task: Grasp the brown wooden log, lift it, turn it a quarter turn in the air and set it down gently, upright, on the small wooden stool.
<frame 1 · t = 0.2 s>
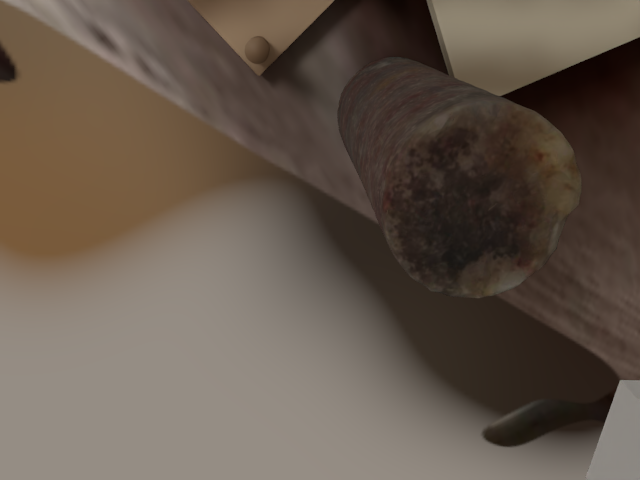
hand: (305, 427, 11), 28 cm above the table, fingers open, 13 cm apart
brown wooden log: (386, 110, 37), on the table
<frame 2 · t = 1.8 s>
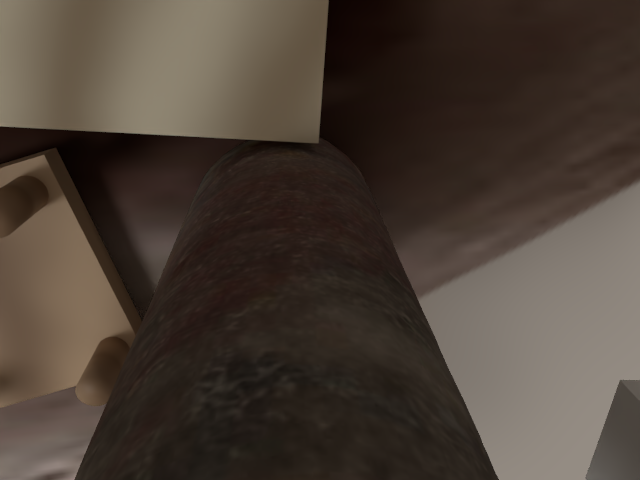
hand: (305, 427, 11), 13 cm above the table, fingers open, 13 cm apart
upturned stool decor: (1, 289, 23), on the table
brown wooden log: (281, 212, 23), on the table
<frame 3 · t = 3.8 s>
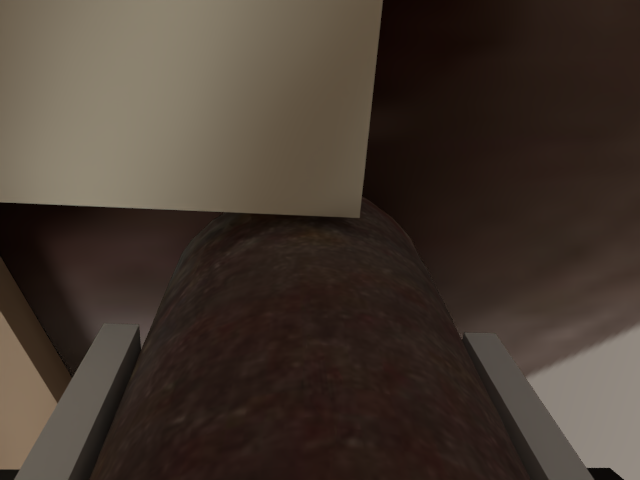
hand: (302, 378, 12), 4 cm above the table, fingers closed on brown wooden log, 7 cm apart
brown wooden log: (295, 289, 16), on the table, touching gripper
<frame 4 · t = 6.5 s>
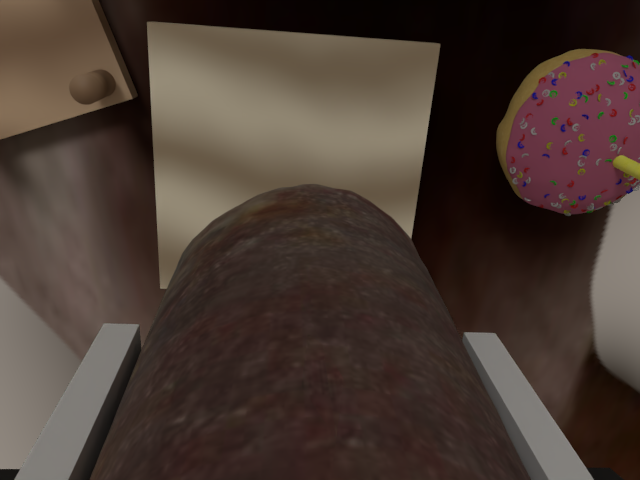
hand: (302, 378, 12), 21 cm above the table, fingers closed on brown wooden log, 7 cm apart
small wooden stool: (288, 156, 32), on the table
upturned stool decor: (10, 29, 28), on the table
cupcake: (539, 120, 32), on the table
brown wooden log: (296, 289, 16), point 17 cm above the table, touching gripper
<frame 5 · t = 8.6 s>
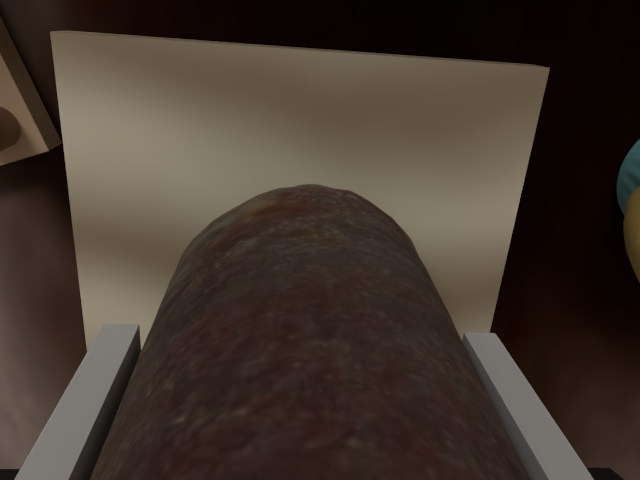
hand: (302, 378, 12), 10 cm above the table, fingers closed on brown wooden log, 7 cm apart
small wooden stool: (294, 229, 21), on the table
brown wooden log: (295, 289, 16), point 5 cm above the table, touching gripper
when the fingers open (10 cm above the table, at t = 9.2 s): brown wooden log drops 1 cm, resting on small wooden stool.
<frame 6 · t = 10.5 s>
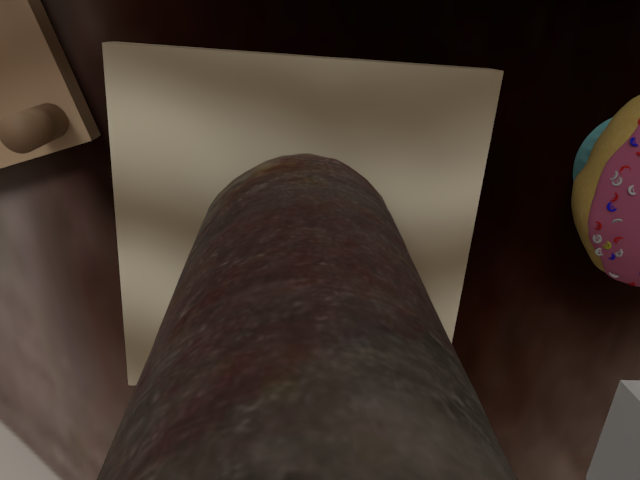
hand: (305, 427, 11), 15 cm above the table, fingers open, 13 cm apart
small wooden stool: (296, 210, 25), on the table
cupcake: (615, 163, 25), on the table
brown wooden log: (295, 239, 21), point 4 cm above the table, touching small wooden stool
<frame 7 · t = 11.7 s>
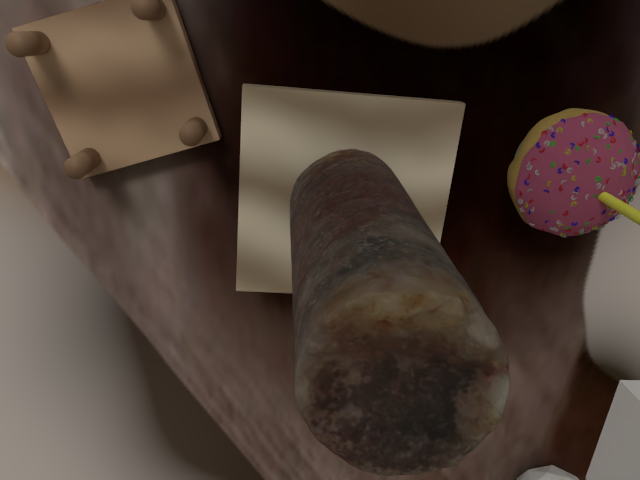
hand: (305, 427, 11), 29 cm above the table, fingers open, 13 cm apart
small wooden stool: (338, 185, 39), on the table
upturned stool decor: (125, 84, 36), on the table
cupcake: (541, 159, 40), on the table
ornament: (533, 476, 52), on the table
brown wooden log: (342, 200, 36), point 4 cm above the table, touching small wooden stool
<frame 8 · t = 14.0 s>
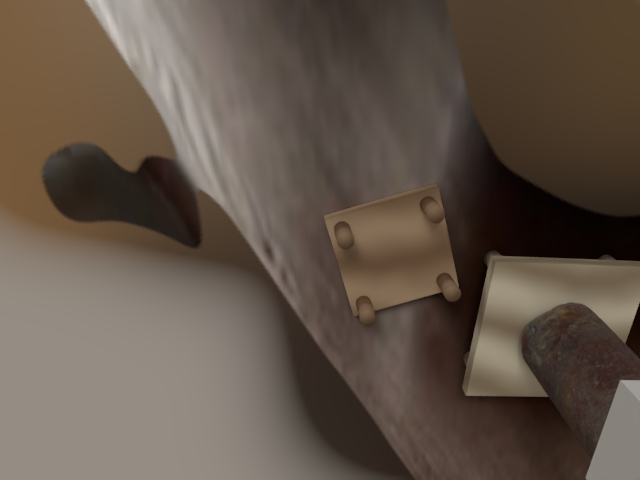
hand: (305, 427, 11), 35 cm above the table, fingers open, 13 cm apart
small wooden stool: (535, 311, 52), on the table
upturned stool decor: (391, 249, 48), on the table
brown wooden log: (552, 332, 48), point 4 cm above the table, touching small wooden stool
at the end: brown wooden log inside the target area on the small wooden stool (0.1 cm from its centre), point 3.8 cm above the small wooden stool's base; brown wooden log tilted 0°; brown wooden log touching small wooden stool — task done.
